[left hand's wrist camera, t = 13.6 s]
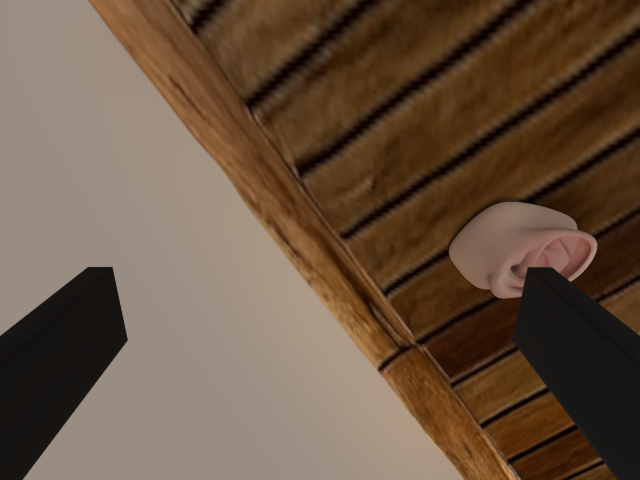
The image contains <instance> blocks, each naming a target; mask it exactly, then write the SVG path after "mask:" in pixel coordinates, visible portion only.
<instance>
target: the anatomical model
mask: <svg viewBox="0 0 640 480" xmlns="http://www.w3.org/2000/svg"><path fill="white" fill-rule="evenodd" d="M596 250H597V242H596V240H595V239H594V238H593V237H592V236H591V235H589V234H587V233H585V232H582V231H579V230H577V225H576V223H575V221H574V220H573V219H572V218H571V217H569V216H567V215H565V214H563V213H561V212H558V211H555V210H552V209H549V208H546V207H542V206H538V205H533V204H528V203H522V202H502V203H498V204H495V205H493V206H491V207H489V208H487V209H485V210H484V211H482V212H481V213H479V214H478V215H477V216H476V217H474V218H473V219H472V220H471V221H470V222H469V223H468V224H467V225H466V226H465V227H464V228H463V229H462V230H461V231H460V232H459V233H458V235H457V236H456V237H455V239H454V240H453V242H452V243H451V245H450V248H449V256H450V258H451V260H452V262H453V263H454V265H455V266H456V267H457V269H458V270H459V271H460V272H461V274H462V275H463V276H464V277H465V278H466V279H467V280H468V281H470V282H471V283H472V284H473V285H475V286H476V287H478V288H481V289H491V291H492V293H493V294H494V295H495V296H496V297H498V298H512V297H521V296H522V291H523V286H524V282H525V277H526V272H527V267H552V268H554V269H555V270H556V271H558V272H559V273H560V274H561V275H563V276H564V277H565V278H566V279H568V280H569V281H570V282H571V281H572V280H574V279H575V278H576V277H578V276H579V275H580V274H581V273H582V272H583V271H584V270H585V269H586V268H587V267H588V265H589V264H590V262H591V261H592V259H593V258H594V255H595V253H596Z"/></svg>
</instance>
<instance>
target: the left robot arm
mask: <svg viewBox="0 0 640 480" xmlns="http://www.w3.org/2000/svg"><path fill="white" fill-rule="evenodd" d="M127 341H128V339H127V334H126V329H125V325H124V320H123V315H122V310H121V305H120V301H119V296H118V291H117V286H116V282H115V277H114V272H113V267H88V268H86V269H85V270H84V271H83V272H81V273H80V274H79V275H77V276H76V277H75V278H74V279H72V280H71V281H70V282H68V283H67V284H66V285H65V286H63V287H62V288H61V289H60V290H58V291H57V292H56V293H54V294H53V295H52V296H51V297H49V298H48V299H47V300H45V301H44V302H43V303H42V304H40V305H39V306H38V307H37V308H35V309H34V310H33V311H32V312H30V313H29V314H28V315H26V316H25V317H24V318H23V319H21V320H20V321H19V322H17V323H16V324H15V325H14V326H12V327H11V328H10V329H9V330H7V331H6V332H5V333H3V334H2V335H1V336H0V480H23V479H24V477H25V476H26V475H27V473H28V472H29V471H30V469H31V468H32V467H33V465H34V464H35V463H36V461H37V460H38V459H39V457H40V456H41V455H42V453H43V452H44V451H45V449H46V448H47V447H48V445H49V444H50V443H51V441H52V440H53V439H54V437H55V436H56V435H57V433H58V432H59V431H60V429H61V428H62V427H63V425H64V424H65V423H66V422H67V420H68V419H69V418H70V416H71V415H72V414H73V412H74V411H75V410H76V408H77V407H78V406H79V404H80V403H81V402H82V400H83V399H84V398H85V396H86V395H87V394H88V392H89V391H90V390H91V388H92V387H93V386H94V384H95V383H96V382H97V380H98V379H99V378H100V376H101V375H102V374H103V372H104V371H105V370H106V368H107V367H108V366H109V364H110V363H111V362H112V361H113V359H114V358H115V356H116V355H117V354H118V352H119V351H120V350H121V349H122V347H123V346H124V345H125V343H126V342H127ZM512 341H513V342H514V343H515V345H516V346H517V347H518V349H519V350H520V351H521V353H522V354H523V355H524V357H525V358H526V359H527V361H528V362H529V363H530V364H531V366H532V367H533V368H534V370H535V371H536V372H537V374H538V375H539V376H540V378H541V379H542V380H543V382H544V383H545V384H546V386H547V387H548V388H549V390H550V391H551V392H552V394H553V395H554V396H555V398H556V399H557V400H558V402H559V403H560V404H561V406H562V407H563V408H564V410H565V411H566V412H567V414H568V415H569V416H570V418H571V419H572V420H573V422H574V423H575V424H576V425H577V427H578V428H579V429H580V431H581V432H582V433H583V435H584V436H585V437H586V439H587V440H588V441H589V443H590V444H591V445H592V447H593V448H594V449H595V451H596V452H597V453H598V455H599V456H600V457H601V459H602V460H603V461H604V463H605V464H606V465H607V467H608V468H609V469H610V471H611V472H612V473H613V475H614V476H615V477H616V479H617V480H640V336H639V335H638V334H637V333H635V332H634V331H633V330H632V329H630V328H629V327H628V326H626V325H625V324H624V323H623V322H621V321H620V320H619V319H617V318H616V317H615V316H614V315H612V314H611V313H610V312H609V311H607V310H606V309H605V308H603V307H602V306H601V305H600V304H598V303H597V302H596V301H595V300H593V299H592V298H591V297H589V296H588V295H587V294H586V293H584V292H583V291H582V290H580V289H579V288H578V287H577V286H575V285H574V284H573V283H572V282H570V281H569V280H568V279H566V278H565V277H564V276H563V275H561V274H560V273H559V272H558V271H556V270H555V269H554V268H552V267H527V272H526V277H525V282H524V286H523V291H522V296H521V301H520V305H519V310H518V315H517V320H516V325H515V329H514V334H513V339H512Z"/></svg>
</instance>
